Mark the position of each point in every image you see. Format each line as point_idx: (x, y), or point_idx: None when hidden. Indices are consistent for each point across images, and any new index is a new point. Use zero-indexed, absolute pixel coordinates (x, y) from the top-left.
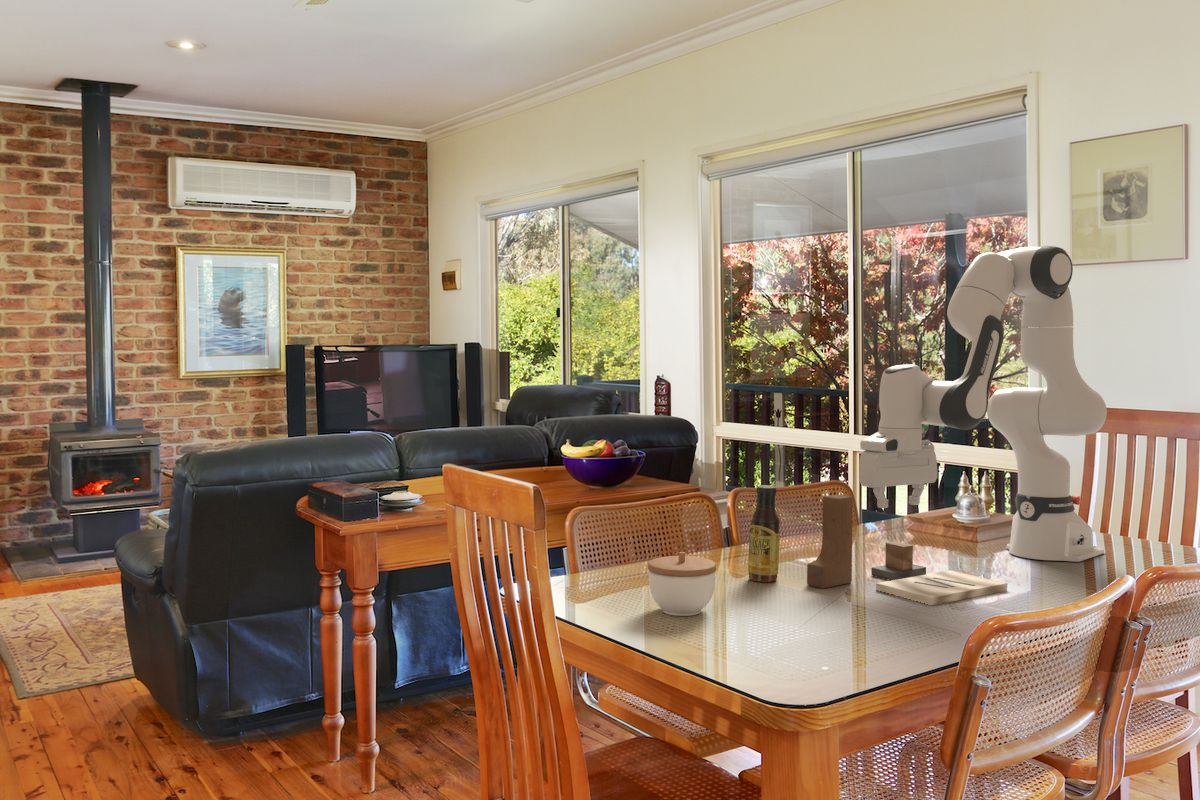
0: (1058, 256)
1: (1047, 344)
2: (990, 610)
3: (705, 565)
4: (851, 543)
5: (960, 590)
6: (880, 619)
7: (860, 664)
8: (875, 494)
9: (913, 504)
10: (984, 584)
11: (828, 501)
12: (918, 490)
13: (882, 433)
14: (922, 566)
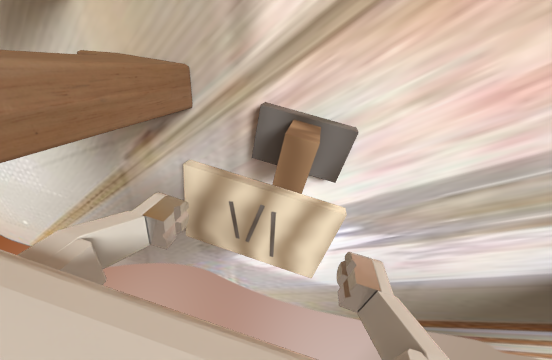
0: None
1: None
2: (223, 268)
3: None
4: (132, 124)
5: (238, 249)
6: (116, 210)
7: (49, 234)
8: (91, 226)
9: (339, 267)
10: (285, 262)
11: None
12: (388, 350)
13: None
14: (338, 175)
